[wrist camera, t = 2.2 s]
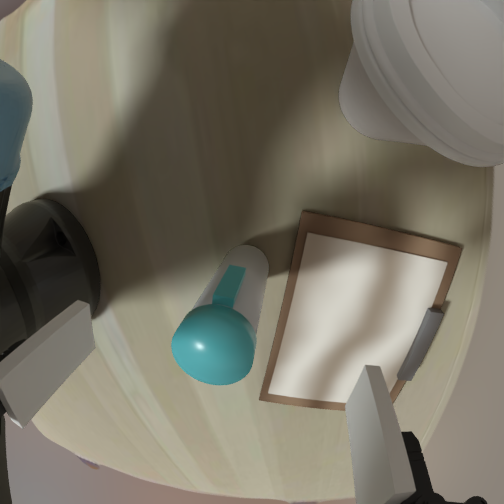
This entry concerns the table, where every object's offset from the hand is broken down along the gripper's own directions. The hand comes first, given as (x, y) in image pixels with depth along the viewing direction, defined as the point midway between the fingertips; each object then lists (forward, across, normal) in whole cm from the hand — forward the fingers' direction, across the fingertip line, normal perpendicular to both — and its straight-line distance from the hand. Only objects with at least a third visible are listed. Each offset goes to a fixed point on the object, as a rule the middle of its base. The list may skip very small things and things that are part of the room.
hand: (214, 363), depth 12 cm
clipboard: (+13, +11, -5) cm, 18 cm away
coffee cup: (+13, +8, +15) cm, 22 cm away
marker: (+13, 0, 0) cm, 13 cm away
